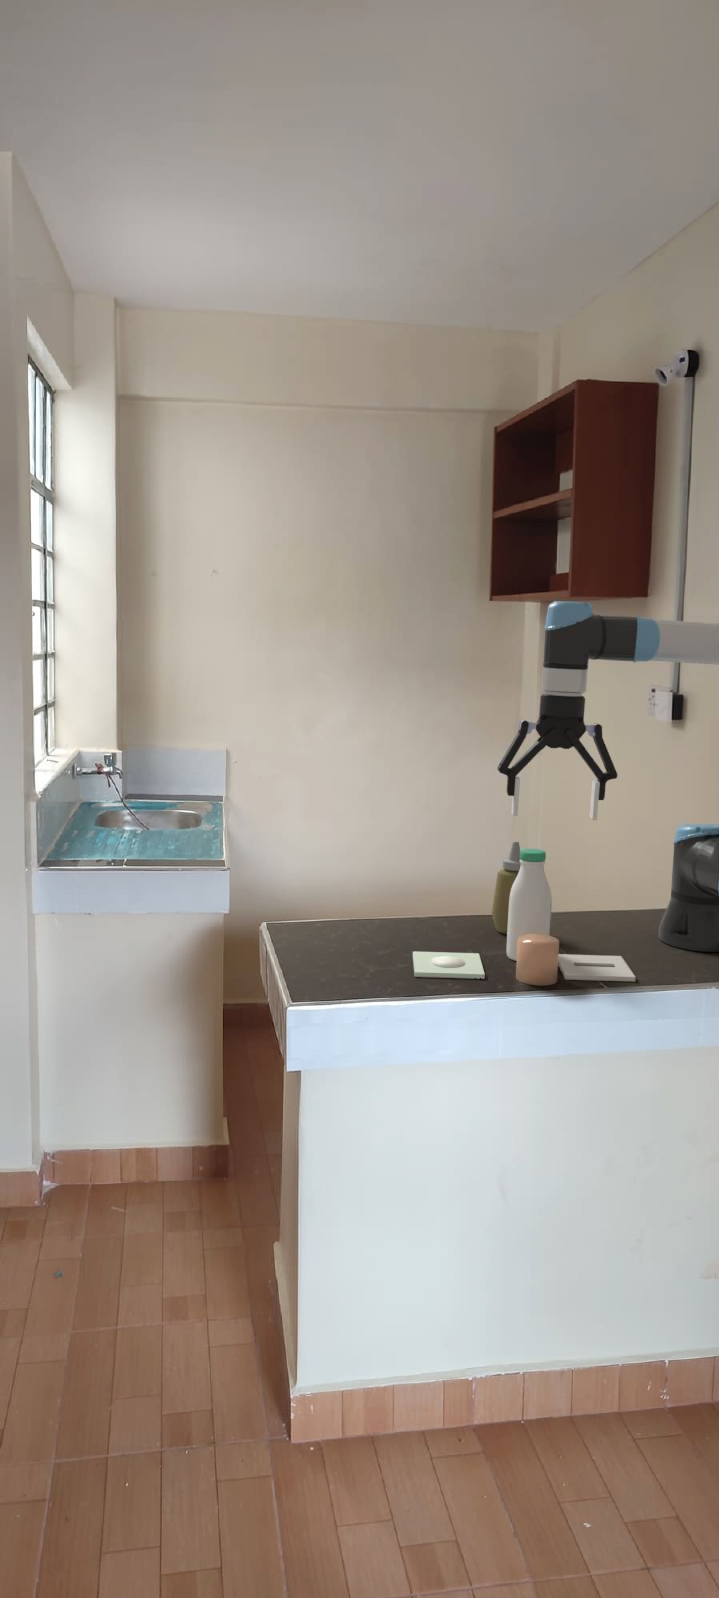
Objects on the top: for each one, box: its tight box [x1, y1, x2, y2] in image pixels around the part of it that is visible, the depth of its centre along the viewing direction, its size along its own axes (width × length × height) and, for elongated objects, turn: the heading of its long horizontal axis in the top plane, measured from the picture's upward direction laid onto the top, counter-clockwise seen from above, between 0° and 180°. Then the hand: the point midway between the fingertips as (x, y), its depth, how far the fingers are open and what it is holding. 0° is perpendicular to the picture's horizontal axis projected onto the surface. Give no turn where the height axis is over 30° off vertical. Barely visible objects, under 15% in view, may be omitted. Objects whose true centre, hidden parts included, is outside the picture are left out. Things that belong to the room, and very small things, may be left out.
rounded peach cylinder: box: [515, 934, 560, 986], centre depth 195 cm, size 7×7×7 cm
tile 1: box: [412, 950, 486, 980], centre depth 201 cm, size 12×12×1 cm
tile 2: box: [558, 953, 636, 982], centre depth 201 cm, size 12×12×1 cm
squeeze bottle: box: [491, 841, 521, 935], centre depth 223 cm, size 8×8×18 cm
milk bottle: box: [506, 848, 553, 962], centre depth 206 cm, size 8×8×20 cm
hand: (553, 816), depth 196 cm, fingers open, 13 cm apart
